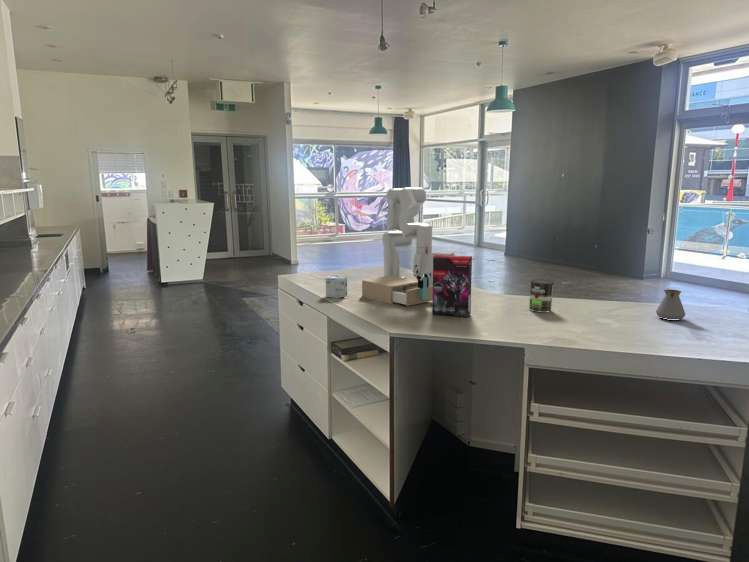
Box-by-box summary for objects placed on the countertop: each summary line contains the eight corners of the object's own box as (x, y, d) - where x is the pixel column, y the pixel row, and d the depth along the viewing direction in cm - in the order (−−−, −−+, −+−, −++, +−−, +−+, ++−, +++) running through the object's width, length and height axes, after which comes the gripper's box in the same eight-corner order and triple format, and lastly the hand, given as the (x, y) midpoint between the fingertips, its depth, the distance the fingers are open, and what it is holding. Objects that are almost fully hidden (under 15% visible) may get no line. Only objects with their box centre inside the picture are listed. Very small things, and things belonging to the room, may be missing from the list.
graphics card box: (431, 314, 237) (432, 256, 231) (434, 311, 243) (436, 254, 238) (468, 318, 231) (470, 258, 226) (470, 314, 237) (473, 255, 232)
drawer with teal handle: (403, 293, 277) (404, 269, 274) (437, 300, 259) (438, 275, 257) (377, 298, 264) (377, 273, 262) (410, 306, 247) (411, 280, 244)
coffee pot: (656, 314, 238) (659, 282, 235) (684, 317, 232) (688, 285, 229) (652, 325, 220) (656, 290, 217) (684, 329, 214) (688, 294, 211)
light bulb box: (347, 295, 275) (347, 275, 273) (345, 298, 269) (345, 278, 267) (328, 295, 276) (327, 275, 274) (325, 298, 270) (325, 277, 268)
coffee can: (545, 314, 238) (547, 284, 235) (525, 310, 244) (526, 281, 242) (555, 310, 245) (557, 281, 242) (535, 306, 252) (536, 278, 249)
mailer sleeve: (389, 291, 286) (389, 275, 284) (418, 298, 270) (418, 281, 268) (362, 296, 273) (362, 280, 271) (390, 304, 256) (390, 286, 255)
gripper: (429, 248, 257) (428, 284, 260) (406, 251, 246) (405, 288, 250) (441, 249, 251) (440, 286, 255) (417, 252, 241) (417, 291, 244)
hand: (423, 287), depth 252 cm, fingers closed on drawer with teal handle, 3 cm apart
